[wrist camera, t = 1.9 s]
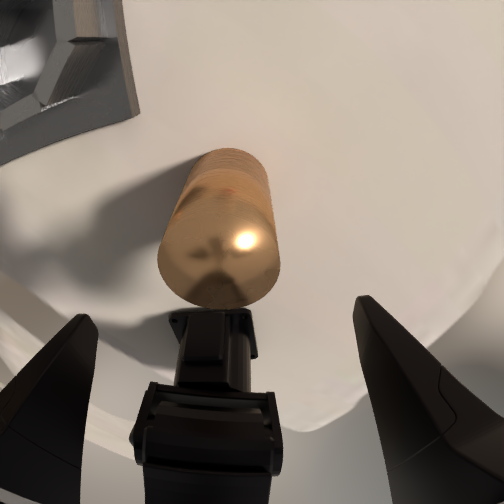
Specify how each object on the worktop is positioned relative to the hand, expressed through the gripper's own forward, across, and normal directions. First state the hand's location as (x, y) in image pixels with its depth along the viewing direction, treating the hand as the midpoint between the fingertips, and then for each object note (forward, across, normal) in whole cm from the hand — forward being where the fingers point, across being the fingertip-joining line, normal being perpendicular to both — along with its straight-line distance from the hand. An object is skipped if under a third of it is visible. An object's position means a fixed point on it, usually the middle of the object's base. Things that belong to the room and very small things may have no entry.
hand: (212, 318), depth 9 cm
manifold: (+9, +13, -11) cm, 19 cm away
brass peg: (+9, 0, 0) cm, 9 cm away
